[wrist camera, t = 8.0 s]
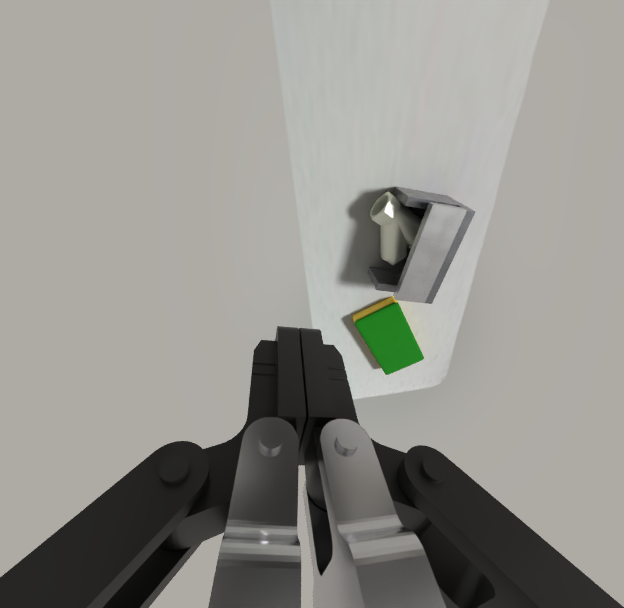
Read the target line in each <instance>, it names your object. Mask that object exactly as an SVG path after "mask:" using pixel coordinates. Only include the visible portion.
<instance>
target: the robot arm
mask: <svg viewBox="0 0 624 608" xmlns="http://www.w3.org/2000/svg"><path fill="white" fill-rule="evenodd" d="M298 465H305V474H306V481H305V484H304V488H303V497H304V505H305V513H306V520H307V528H308V536H309V543H310V551H311V559H312V566H313V576H314V587H313V608H624V607H623V606H621V605H620V604H619V603H618V602H617V601H615V600H614V599H613V598H612V597H611V596H610V595H608V594H607V593H606V592H605V591H604V590H603V589H601V588H600V587H599V586H598V585H597V584H595V583H594V582H593V581H592V580H591V579H590V578H588V577H587V576H586V575H585V574H584V573H582V572H581V571H580V570H579V569H578V568H577V567H575V566H574V565H573V564H572V563H571V562H570V561H568V560H567V559H566V558H565V557H564V556H562V555H561V554H560V553H559V552H558V551H556V550H555V549H554V548H553V547H551V545H549V544H548V543H547V542H546V541H545V540H543V539H542V538H541V537H540V536H539V535H538V534H536V533H535V532H534V531H533V530H532V529H531V528H529V527H528V526H527V525H526V524H525V523H523V522H522V521H521V520H520V519H519V518H517V517H516V516H515V515H514V514H513V513H512V512H510V511H509V510H508V509H507V508H506V507H505V506H503V505H502V504H501V503H500V502H499V501H497V500H496V499H495V498H494V497H493V496H491V495H490V494H489V493H488V492H487V491H486V490H484V489H483V488H482V487H481V486H480V485H479V484H477V483H476V482H475V481H474V480H473V479H471V478H470V477H469V476H468V475H467V474H465V473H464V472H463V471H462V470H461V469H460V468H459V467H457V466H456V465H455V464H454V463H453V462H451V461H450V460H449V459H448V458H447V457H445V456H444V455H443V454H442V453H440V452H439V451H437V450H436V449H433V448H431V447H428V446H415V447H413V448H411V449H410V450H409V451H408V452H407V453H404V452H401V451H398V450H395V449H392V448H389V447H386V446H384V445H381V444H379V443H377V442H375V441H374V440H372V439H371V438H370V436H369V435H368V433H367V432H366V431H365V429H364V428H363V427H361V426H360V424H359V423H358V419H357V416H356V412H355V407H354V404H353V399H352V395H351V391H350V387H349V383H348V381H347V375H346V371H345V367H344V363H343V358H342V355H341V354H340V353H339V352H338V350H337V349H336V348H335V346H334V345H325V344H323V340H322V335H321V331H320V330H318V329H305V328H299V329H298V328H292V327H279V326H278V327H277V333H276V339H275V341H268V340H261V341H260V343H259V344H258V346H257V347H256V348H255V350H254V356H253V367H252V376H251V387H250V397H249V408H248V416H247V421H246V424H245V425H244V427H243V429H242V430H241V431H240V432H239V433H238V434H237V435H236V436H235V437H234V438H232V439H231V440H229V441H227V442H225V443H222V444H219V445H216V446H212V447H209V448H206V449H202V448H201V447H200V446H198V445H197V444H195V443H192V442H188V441H179V442H173V443H170V444H167V445H164V446H163V447H161V448H159V449H158V450H156V451H155V452H154V453H152V454H151V455H150V456H149V457H148V458H146V459H145V460H144V461H143V462H141V463H140V464H139V465H138V466H136V467H135V468H134V469H133V470H132V471H130V472H129V473H128V474H127V475H126V476H124V477H123V478H122V479H121V480H120V481H118V482H117V483H116V484H114V485H113V486H112V487H111V488H110V489H108V490H107V491H106V492H105V493H103V494H102V495H101V496H100V497H98V498H97V499H96V500H95V501H94V502H92V503H91V504H90V505H89V506H87V507H86V508H85V509H84V510H83V511H81V512H80V513H79V514H78V515H77V516H75V517H74V518H73V519H71V520H70V521H69V522H68V523H67V524H65V525H64V526H63V527H62V528H60V529H59V530H58V531H57V532H56V533H54V534H53V535H52V536H51V537H49V538H48V539H47V540H46V541H45V542H43V543H42V544H41V545H40V546H38V547H37V548H36V549H35V550H34V551H32V552H31V553H30V554H29V555H27V556H26V557H25V558H24V559H22V560H21V561H20V562H19V563H18V564H16V565H15V566H14V567H13V568H12V569H10V570H9V571H8V572H7V573H5V574H4V575H3V576H2V577H0V608H149V606H150V605H151V604H152V603H153V602H154V600H155V599H156V598H157V597H158V595H159V594H160V593H161V592H162V591H163V589H164V588H165V587H166V586H167V584H168V583H169V582H170V581H171V580H172V578H173V577H174V576H175V575H176V573H177V572H178V571H179V570H180V569H181V567H182V566H183V565H184V563H186V561H187V560H188V559H189V558H190V556H191V555H192V554H193V553H194V551H195V550H196V549H197V548H198V547H199V545H200V544H201V543H202V542H203V541H205V540H207V539H209V538H211V537H214V536H216V535H219V534H221V533H223V532H225V533H224V536H223V539H222V543H221V547H220V551H219V556H218V561H217V566H216V572H215V576H214V582H213V587H212V592H211V597H210V602H209V608H301V549H300V542H299V539H298V536H297V507H298Z"/></svg>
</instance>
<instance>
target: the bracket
mask: <svg viewBox="0 0 624 608" xmlns="http://www.w3.org/2000/svg"><path fill="white" fill-rule="evenodd" d="M393 195H394V196H395V197H396V198H397V199H398V200H399V201H400V202H402V203H403V204H404V205H405V206H410V207H416V208H422V209H426V212H425V214H424V217H423V219H422V222H421V225H420V227H419V230H418V232H417V235H416V238H415V240H414V243H413V245H412V248H411V251H410V253H409V256H408V258H407V261H406V264H405V266H404V269H403V271H395V270H387V269H379V268H371V267H370V269H369V272H368V275H369V276H370V278H371V280H372V282H373V284H374V286H375V288H376V290H380V291H390V292H394V295H393V296H394V298H395V300H401V301H410V302H420V303H429V304H432V302H433V300H434V298H435V296H436V294H437V292H438V290H439V287H440V285H441V283H442V281H443V279H444V277H445V275H446V273H447V271H448V269H449V266H450V264H451V262H452V260H453V258H454V256H455V254H456V252H457V250H458V248H459V245H460V243H461V241H462V239H463V237H464V235H465V233H466V231H467V229H468V226H469V224H470V222H471V220H472V218H473V216H474V214H475V211H473V210H471V209H470V208H468V207H466V206H464V205H463V204H461V203H459V202H457V201H456V200H454V199H452V198H450V197H449V196H446V195H440V194H434V193H428V192H423V191H417V190H411V189H406V188H400V187H395V190H394V193H393Z"/></svg>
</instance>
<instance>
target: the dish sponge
mask: <svg viewBox="0 0 624 608" xmlns="http://www.w3.org/2000/svg"><path fill="white" fill-rule="evenodd" d="M353 320H354V323H355V326H356V327H357V329H358V330H359V332H360V334H361V335H362V337H363V339H364V340H365V342H366V343H367V345H368V347H369V348H370V350H371V352H372V353H373V355H374V356H375V358H376V360H377V361H378V363H379V365H380V366H381V368H382V369H383V371H384V373H385V374H386V375H389V374H391V373H393V372H396V371H398V370H400V369H403V368H405V367H407V366H410V365H412V364H414V363H417V362H419V361H421V360H423V359H424V357H423V355H422V352H421V350H420V348H419V346H418V344H417V342H416V340H415V338H414V335H413V333H412V331H411V329H410V327H409V325H408V323H407V321H406V319H405V316H404V314H403V312H402V310H401V308H400V306H399V304H398V302H397V300H395V298H394V297H392V296H391V297H389V298H387V299H385V300H383V301H381V302H379V303H377V304H375V305H373V306H371V307H369V308H367V309H365V310H363V311H361V312H359V313H357V314H354V315H353Z"/></svg>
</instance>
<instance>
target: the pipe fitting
mask: <svg viewBox="0 0 624 608" xmlns="http://www.w3.org/2000/svg"><path fill="white" fill-rule="evenodd" d="M370 217H371V218H372V220H373V221H375V222H376V223H377V224H379V225H380V236H381V258H382V259H383V260H385V261H387V262H388V263H390V264H391V265H396V264H397V263H398V262H399V261H401V260H403V259H404V258H405V257H406V251H407V245H408V247H409V248H410V249H411V248H412V245H413V243H414V240H415V238H416V235H417V232H418V230H419V227H420V225H421V222H422V220H421V219H420V218H419V217H417V216H416V215H415V214H414V213H412V212H411V211H410V210H409V209H408V208H406V207H405V206H404V205H403V204H402V203H400V201H399V200H398V199H397V198H396V197H395V196H394V195H393V194H391V193H390V192H389V191H388V192H386V193H384V194H383V195H382V196H380V197H379V198H378V199H377V201H376V202H375V203H374V205H373V206H372V208H371V211H370Z"/></svg>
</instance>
